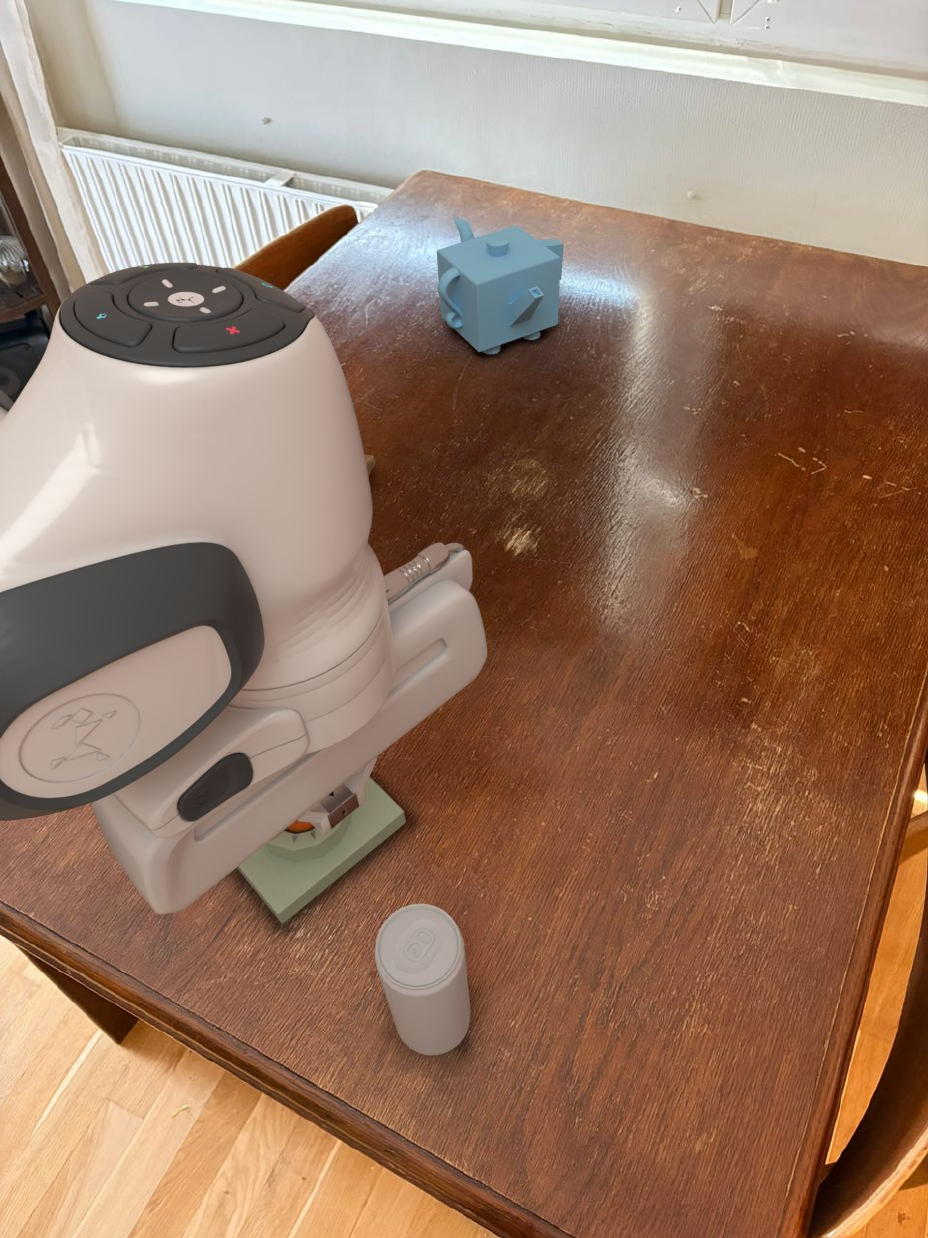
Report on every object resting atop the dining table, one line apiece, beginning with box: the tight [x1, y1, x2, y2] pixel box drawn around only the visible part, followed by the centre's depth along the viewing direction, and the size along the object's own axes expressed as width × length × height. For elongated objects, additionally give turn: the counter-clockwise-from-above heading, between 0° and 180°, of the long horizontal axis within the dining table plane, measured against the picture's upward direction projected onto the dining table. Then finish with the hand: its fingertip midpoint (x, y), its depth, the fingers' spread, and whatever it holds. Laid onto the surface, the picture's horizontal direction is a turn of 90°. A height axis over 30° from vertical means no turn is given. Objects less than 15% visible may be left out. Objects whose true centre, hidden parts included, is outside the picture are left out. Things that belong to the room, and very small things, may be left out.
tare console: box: [236, 776, 407, 925], centre depth 64 cm, size 11×9×4 cm
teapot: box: [436, 217, 565, 355], centre depth 103 cm, size 16×18×11 cm
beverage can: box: [374, 903, 471, 1057], centre depth 52 cm, size 5×5×12 cm
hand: (336, 810), depth 48 cm, fingers closed
